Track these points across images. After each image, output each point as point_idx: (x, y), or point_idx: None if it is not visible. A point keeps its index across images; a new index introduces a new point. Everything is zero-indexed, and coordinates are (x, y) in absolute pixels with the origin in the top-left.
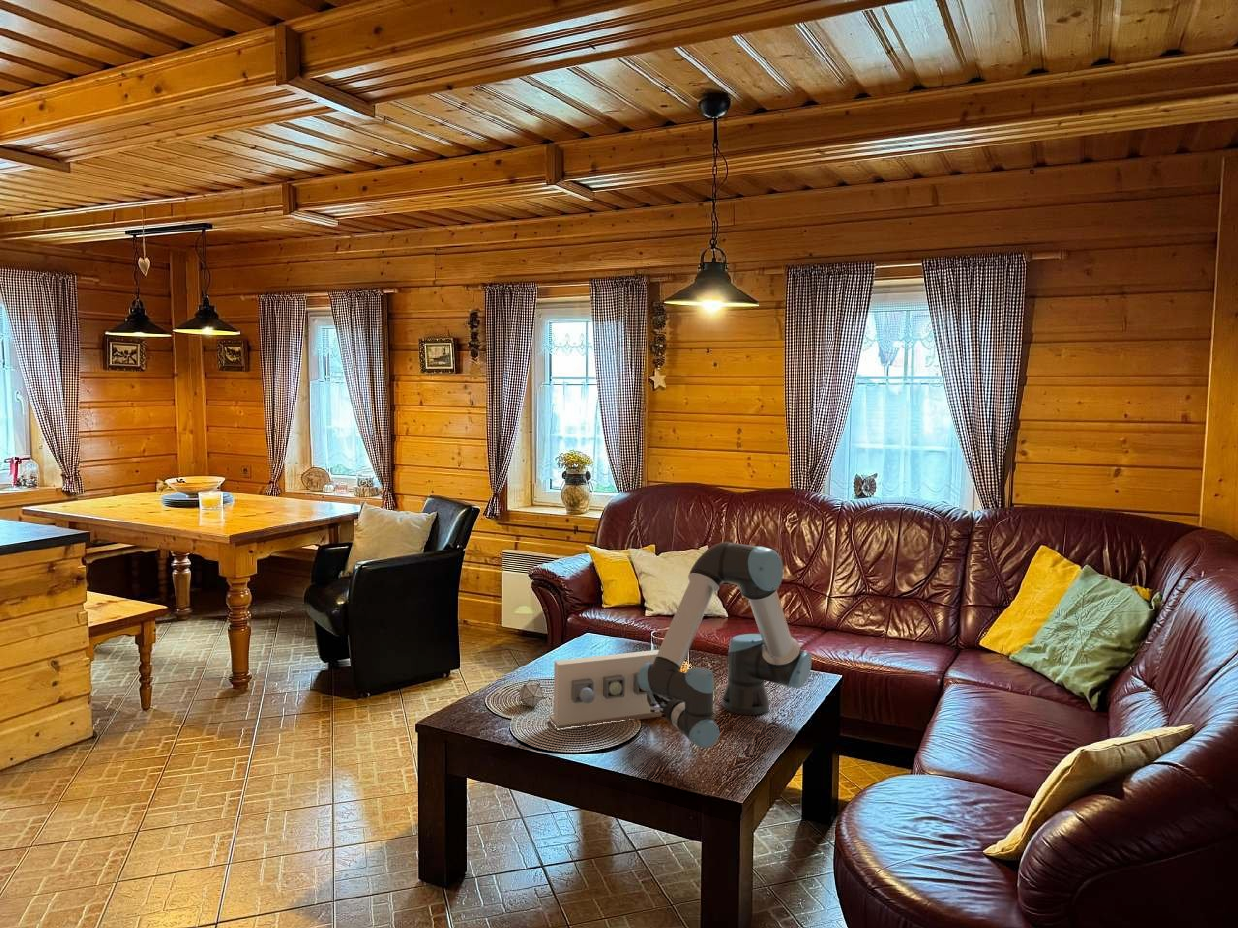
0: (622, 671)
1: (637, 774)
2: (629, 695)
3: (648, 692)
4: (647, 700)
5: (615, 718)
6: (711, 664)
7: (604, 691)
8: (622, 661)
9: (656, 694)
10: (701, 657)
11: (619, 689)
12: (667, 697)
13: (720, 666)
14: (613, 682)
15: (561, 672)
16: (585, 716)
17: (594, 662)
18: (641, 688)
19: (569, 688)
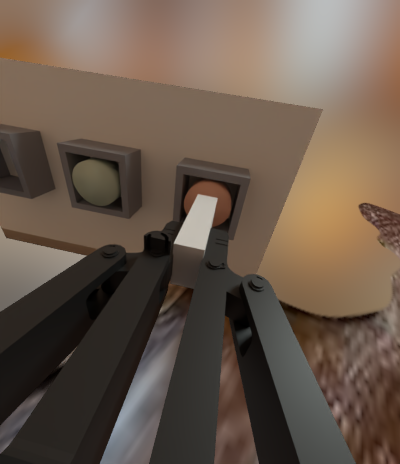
0: (145, 139)
1: None
2: (168, 220)
3: (101, 254)
4: (96, 293)
5: None
6: (376, 215)
7: None
8: (144, 97)
9: (105, 307)
10: (361, 204)
11: (108, 192)
12: (162, 419)
13: (391, 222)
14: (84, 161)
15: None
16: (58, 231)
17: (37, 70)
18: (187, 213)
19: None
